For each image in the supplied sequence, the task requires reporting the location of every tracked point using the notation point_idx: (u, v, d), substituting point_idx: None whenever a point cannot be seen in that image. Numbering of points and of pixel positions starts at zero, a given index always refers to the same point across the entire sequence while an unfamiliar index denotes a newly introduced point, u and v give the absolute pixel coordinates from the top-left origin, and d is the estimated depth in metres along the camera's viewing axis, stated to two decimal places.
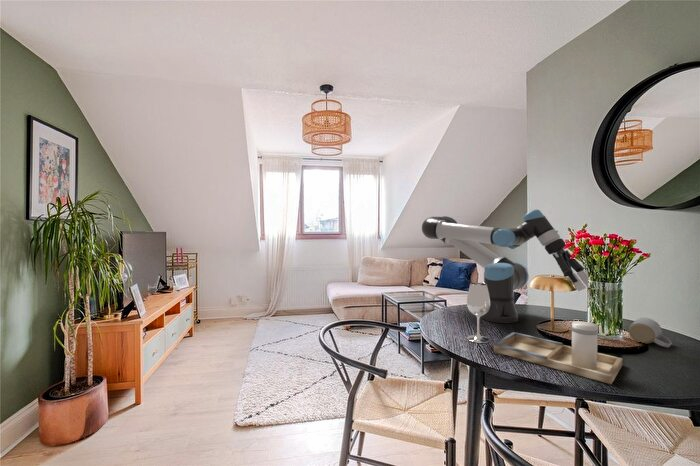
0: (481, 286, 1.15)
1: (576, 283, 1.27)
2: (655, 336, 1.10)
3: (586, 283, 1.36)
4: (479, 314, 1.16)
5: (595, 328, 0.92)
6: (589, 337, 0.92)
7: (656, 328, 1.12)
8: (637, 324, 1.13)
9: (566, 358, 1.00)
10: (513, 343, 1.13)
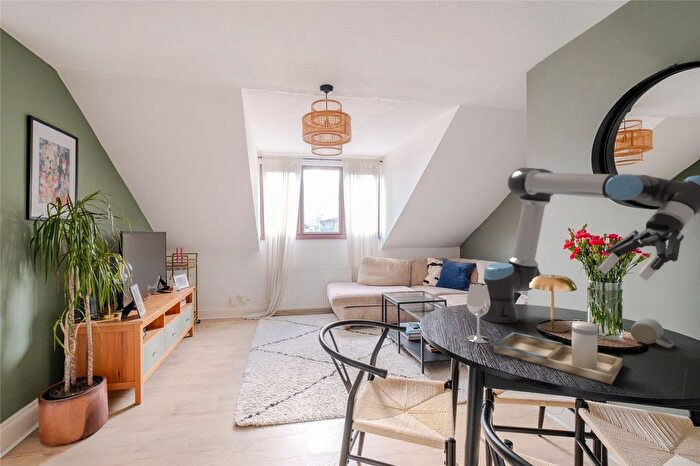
0: (481, 286, 1.15)
1: (650, 268, 0.89)
2: (657, 336, 1.10)
3: (604, 266, 1.03)
4: (479, 314, 1.16)
5: (595, 328, 0.92)
6: (589, 337, 0.92)
7: (658, 328, 1.12)
8: (639, 324, 1.13)
9: (566, 358, 1.00)
10: (513, 343, 1.13)
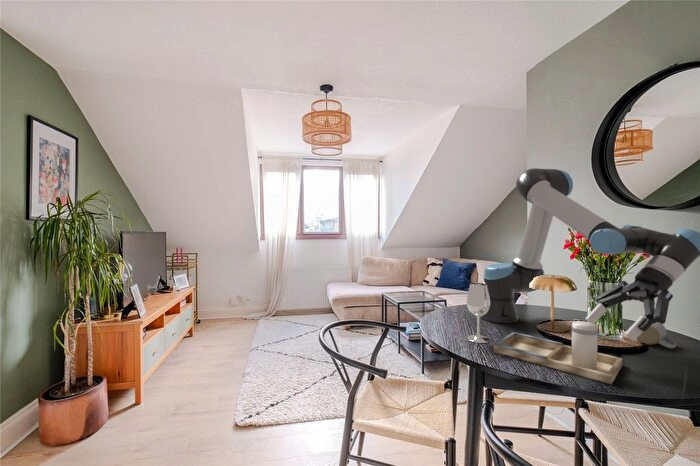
0: (481, 286, 1.15)
1: (637, 329, 0.87)
2: (660, 337, 1.09)
3: (591, 317, 1.01)
4: (479, 314, 1.16)
5: (595, 328, 0.92)
6: (589, 337, 0.92)
7: (661, 329, 1.11)
8: None
9: (566, 358, 1.00)
10: (513, 343, 1.13)
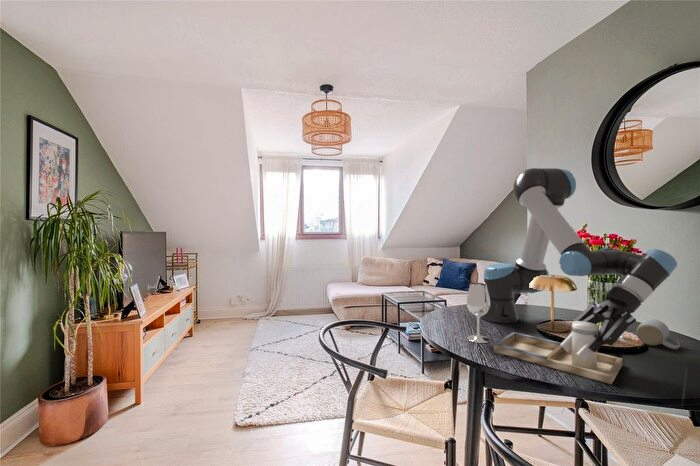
0: (481, 286, 1.15)
1: (588, 350, 0.91)
2: (663, 338, 1.09)
3: (566, 344, 0.98)
4: (479, 314, 1.16)
5: (595, 328, 0.92)
6: (589, 337, 0.92)
7: (664, 330, 1.10)
8: (645, 326, 1.12)
9: (566, 358, 1.00)
10: (513, 343, 1.13)
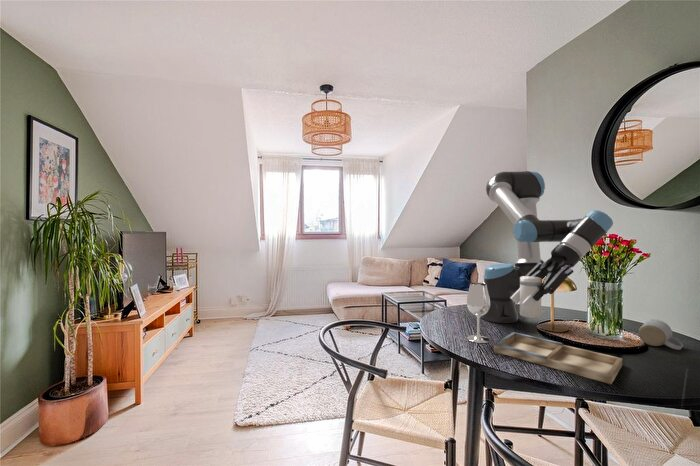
0: (481, 286, 1.15)
1: (532, 299, 1.02)
2: (666, 338, 1.08)
3: (515, 296, 1.08)
4: (479, 314, 1.16)
5: (539, 280, 1.02)
6: (533, 288, 1.02)
7: (667, 330, 1.10)
8: (647, 326, 1.11)
9: (566, 358, 1.00)
10: (513, 343, 1.13)
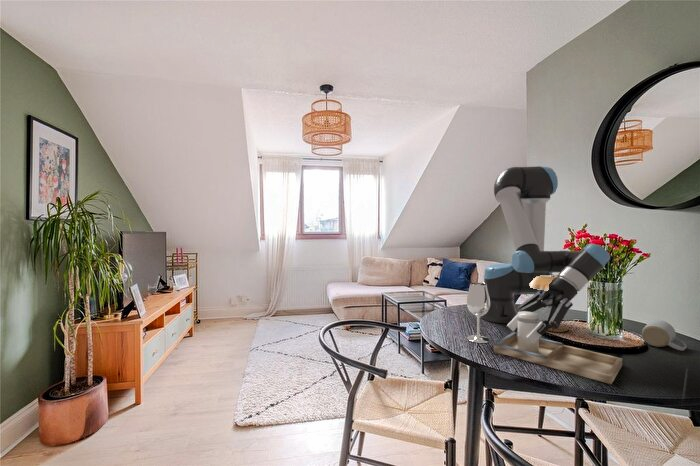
0: (481, 286, 1.15)
1: (536, 333, 1.00)
2: (669, 339, 1.07)
3: (511, 324, 1.11)
4: (479, 314, 1.16)
5: (536, 317, 1.03)
6: (531, 325, 1.03)
7: (670, 331, 1.09)
8: (651, 327, 1.10)
9: (566, 358, 1.00)
10: (513, 343, 1.13)
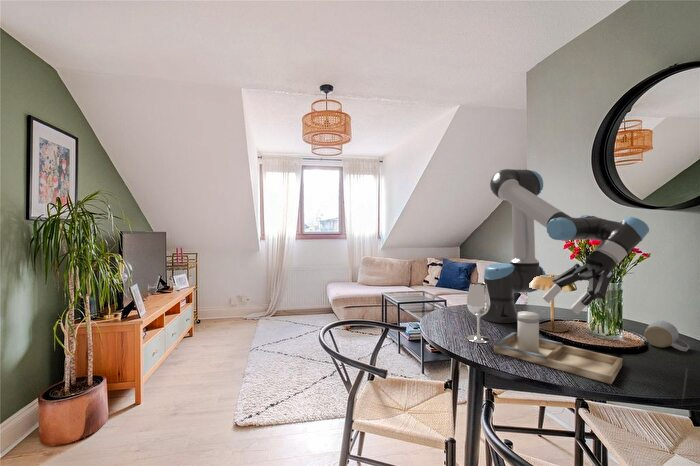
0: (481, 286, 1.15)
1: (580, 304, 0.99)
2: (672, 340, 1.07)
3: (547, 296, 1.13)
4: (479, 314, 1.16)
5: (536, 317, 1.03)
6: (531, 325, 1.03)
7: (673, 331, 1.09)
8: (653, 327, 1.10)
9: (566, 358, 1.00)
10: (513, 343, 1.13)
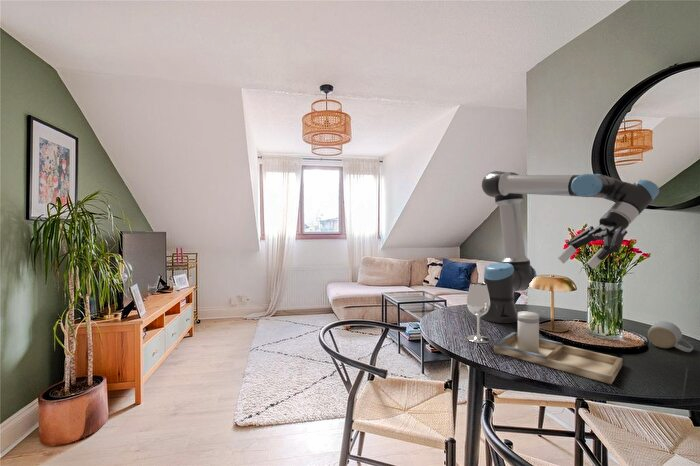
0: (481, 286, 1.15)
1: (596, 258, 1.05)
2: (676, 340, 1.06)
3: (563, 256, 1.19)
4: (479, 314, 1.16)
5: (536, 317, 1.03)
6: (531, 325, 1.03)
7: (676, 332, 1.08)
8: (657, 328, 1.09)
9: (566, 358, 1.00)
10: (513, 343, 1.13)
